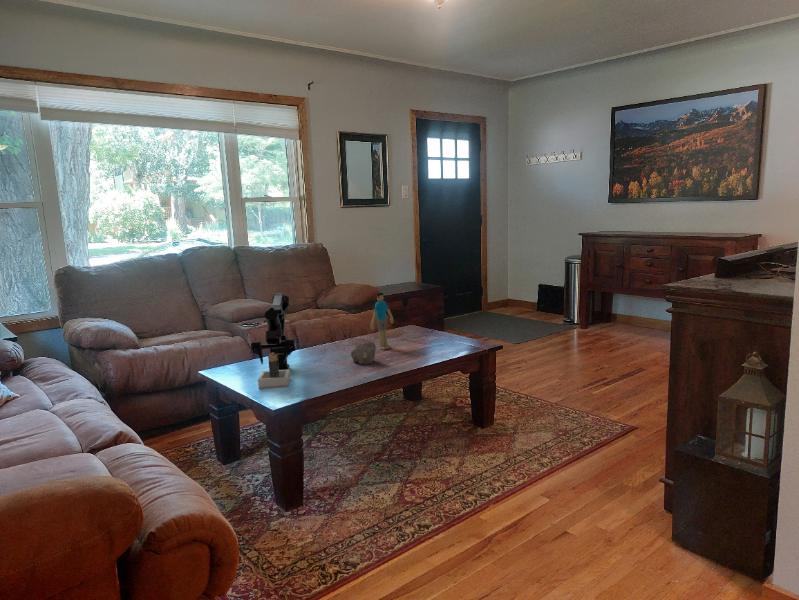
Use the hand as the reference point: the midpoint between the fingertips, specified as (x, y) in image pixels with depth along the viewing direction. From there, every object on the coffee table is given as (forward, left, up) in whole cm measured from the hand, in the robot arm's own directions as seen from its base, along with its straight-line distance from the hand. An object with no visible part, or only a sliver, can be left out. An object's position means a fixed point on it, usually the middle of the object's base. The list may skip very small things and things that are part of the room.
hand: (272, 363), depth 232 cm
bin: (-1, 0, -9) cm, 9 cm away
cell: (-1, 0, -8) cm, 9 cm away
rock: (-25, +40, -10) cm, 48 cm away
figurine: (-49, +51, -10) cm, 72 cm away
